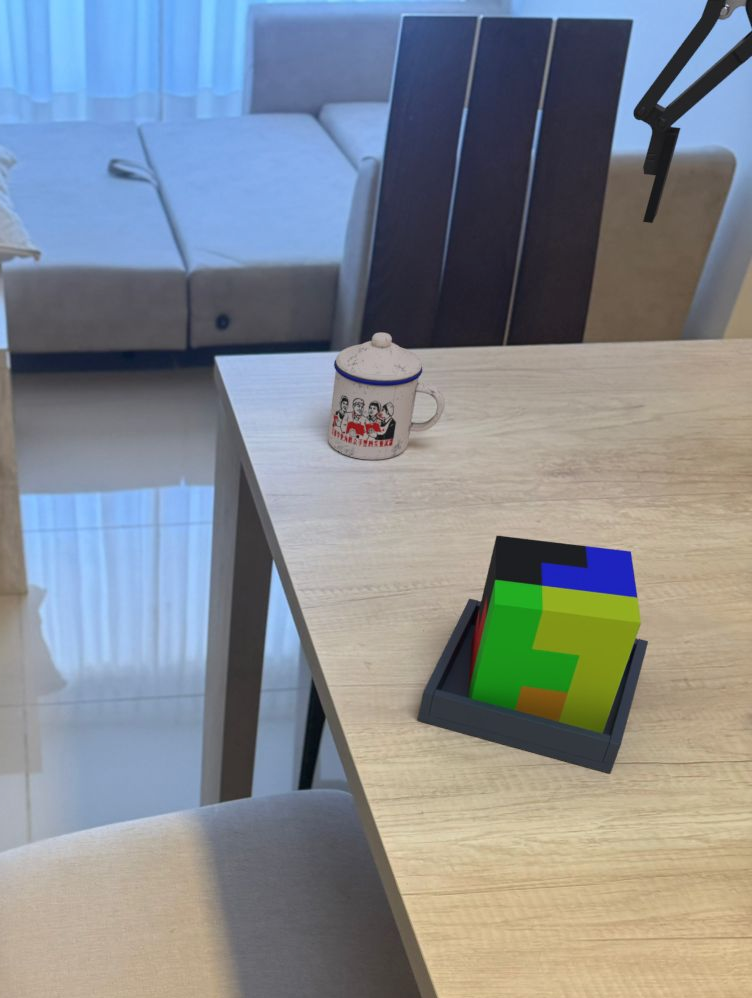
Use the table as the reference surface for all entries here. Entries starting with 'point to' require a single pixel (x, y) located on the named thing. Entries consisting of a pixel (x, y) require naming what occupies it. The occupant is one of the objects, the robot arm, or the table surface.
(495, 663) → the puzzle toy
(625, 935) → the table surface
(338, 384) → the teacup with lid
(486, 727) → the dark gray tray
